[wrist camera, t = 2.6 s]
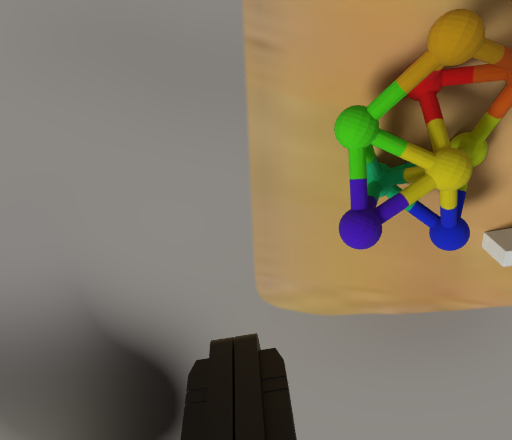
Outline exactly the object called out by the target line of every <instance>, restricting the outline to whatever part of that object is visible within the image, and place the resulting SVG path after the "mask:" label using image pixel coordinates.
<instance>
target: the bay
mask: <svg viewBox="0 0 512 440" xmlns="http://www.w3.org/2000/svg"><path fill="white" fill-rule="evenodd" d="M482 247H483V248H484V249H485V250H486V251H487V252H488V253H489V254H490V255H491V256H492V257H493V258H494V259H495V260H496V261H497V262H499V263H500V264H501V265H502V266H503V267H505V266H512V228H508V229H502V230H496V231H489V232H484V236H483V242H482Z"/></svg>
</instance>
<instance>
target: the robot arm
mask: <svg viewBox="0 0 512 440" xmlns="http://www.w3.org/2000/svg"><path fill="white" fill-rule="evenodd" d="M181 440H297V439H296V433H295V426H294V420H293V413H292V407H291V400H290V394H289V388H288V382H287V376H286V370H285V364H284V360H283V358H282V357H281V355H280V354H279V353H278V351H277V350H276V348H271V349H265V350H261V349H260V344H259V339H258V335H257V333H256V334H250V335H243V336H237V337H235V339H234V337H232V338H225V339H218V340H212V341H211V342H210V354H209V358H208V359H202V360H196V362H195V364H194V366H193V367H192V369H191V371H190V373H189V375H188V382H187V394H186V399H185V408H184V416H183V424H182V433H181Z"/></svg>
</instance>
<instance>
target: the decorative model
mask: <svg viewBox="0 0 512 440" xmlns="http://www.w3.org/2000/svg"><path fill="white" fill-rule="evenodd" d="M427 45H428V50H427V51H426V52H425V53H424V54H423V55H422V56H421V57H420V58H418V59H417V60H416V61H415V62H414V63H413V64H411V65H410V66H409V67H408V68H407V69H406V70H405V71H404V72H403V73H402V74H401V75H400V76H399V77H398V78H397V79H396V80H395V81H394V82H393V83H392V84H391V85H390V86H388V87H387V88H386V89H385V90H384V91H383V92H382V93H381V94H380V95H379V96H378V97H377V98H376V99H375V100H374V101H372V102H371V103H370V104H369V105H368V106H367V107H365V106H360V105H356V106H351V107H349V108H347V109H345V110H344V111H343V112H342V113H341V114H340V115H339V116H338V118H337V120H336V123H335V128H334V131H335V136H336V138H337V140H338V142H339V143H340V144H341V145H342V146H343V147H345V148H347V149H349V172H350V195H351V210H349V211H348V212H346V213H345V214H344V215H343V217H342V218H341V220H340V223H339V233H340V236H341V238H342V240H343V241H344V242H345V243H346V244H347V245H348V246H350V247H352V248H355V249H367V248H369V247H371V246H373V245H375V244H376V243H377V241H378V240H379V238H380V236H381V233H382V224H383V223H384V222H386V221H387V220H389V219H390V218H392V217H393V216H395V215H396V214H398V213H399V212H401V211H402V210H404V209H405V210H407V211H408V212H409V213H411V214H412V215H413V216H415V217H416V218H418V219H419V220H420V221H422V222H423V223H424V224H426V225H427V226H429V227H430V232H429V234H430V238H431V241H432V242H433V243H434V245H436V246H437V247H438V248H440V249H443V250H447V251H452V250H457V249H459V248H461V247H463V246H464V245H465V244H466V243H467V241H468V239H469V236H470V230H469V227H468V224H467V223H466V222H465V220H463V219H462V218H461V213H462V209H463V204H464V199H465V195H466V190H467V186H468V181H469V179H470V178H471V175H472V171H473V167H475V166H477V165H479V164H480V163H481V162H482V161H483V160H484V159H485V158H486V156H487V153H488V145H487V142H486V140H485V139H486V138H487V137H488V135H489V134H490V133H491V131H492V130H493V129H494V128H495V126H496V125H497V124H498V123H499V121H500V120H501V119H502V118H503V116H504V115H505V114H506V112H507V111H508V110H509V109H510V107H511V106H512V49H510V48H508V47H506V46H503V45H501V44H498V43H496V42H494V41H491V40H489V39H487V38H485V28H484V24H483V21H482V19H481V17H480V16H478V15H477V14H476V13H475V12H473V11H471V10H467V9H456V10H453V11H450V12H447V13H445V14H444V15H443V16H441V17H440V18H439V19H438V20H437V21H436V22H435V23H434V25H433V26H432V28H431V29H430V31H429V34H428V39H427ZM472 57H473V58H476V59H478V60H481V61H483V62H486V63H489V64H484V65H476V66H468V67H460V68H451V69H443V68H444V67H445V65H446V66H454V65H459V64H462V63H464V62H466V61H468V60H469V59H471V58H472ZM499 80H505V81H506V83H507V84H506V86H505V87H504V89H503V90H502V91H501V93H500V94H499V95H498V97H497V98H496V99H495V101H494V102H493V103H492V105H491V106H490V107H489V109H488V110H487V112H486V113H485V114H484V116H483V117H482V118H481V120H480V121H479V122H478V124H477V125H476V127H475V128H474V129H473V131H472V132H465V133H461V134H459V135H457V136H455V137H454V138H453V139H452V140H451V142H450V140H449V137H448V133H447V130H446V127H445V123H444V120H443V116H442V113H441V109H440V106H439V102H438V99H437V96H436V94H437V93H438V92H439V91H440V89H441V88H442V86H450V85H460V84H470V83H480V82H490V81H499ZM406 95H407V96H408V97H409V98H411V99H413V100H416V101H420V105H421V108H422V112H423V116H424V119H425V123H426V127H427V130H428V134H429V137H430V141H431V145H432V148H433V152H434V153H432V152H430V151H428V150H426V149H423V148H421V147H419V146H417V145H415V144H412V143H410V142H408V141H406V140H404V139H401V138H399V137H397V136H395V135H393V134H390V133H388V132H386V131H384V130H382V129H379V122H378V120H379V119H380V118H381V117H382V116H383V115H384V114H385V113H386V112H388V111H389V110H390V109H391V108H392V107H393V106H394V105H396V104H397V103H398V102H399V101H400V100H401V99H402V98H403V97H405V96H406ZM372 145H374V146H376V147H378V148H380V149H382V150H385V151H387V152H389V153H391V154H393V155H396V156H398V157H400V158H402V159H404V160H407V161H409V162H408V163H405V164H402V165H399V166H396V167H393V168H391V167H389V166H388V165H386V164H384V163H381V162H378V160H377V157H376V155H375V152H374V149H373V146H372ZM413 182H414V183H413ZM405 183H412V184H411V185H409V186H408V187H406V188H405V189H403V190H402V189H401V188H399V187H398V186H397V184H405ZM435 188H436V189H438V190H440V214H441V216H438V215H437V214H435V213H434V212H433V211H431V210H430V209H428V208H427V207H426V206H424V205H423V204H422V203H420V202H419V201H417V200H419V199H420V198H422V197H423V196H425V195H426V194H428V193H429V192H431V191H432V190H434V189H435ZM385 195H386V196H387V197H389V198H390V199H388V200H387V201H385V202H384V203H382V204H381V205H379V206H378V207H376V205H377V202H378V199H379V197H382V196H385Z"/></svg>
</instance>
